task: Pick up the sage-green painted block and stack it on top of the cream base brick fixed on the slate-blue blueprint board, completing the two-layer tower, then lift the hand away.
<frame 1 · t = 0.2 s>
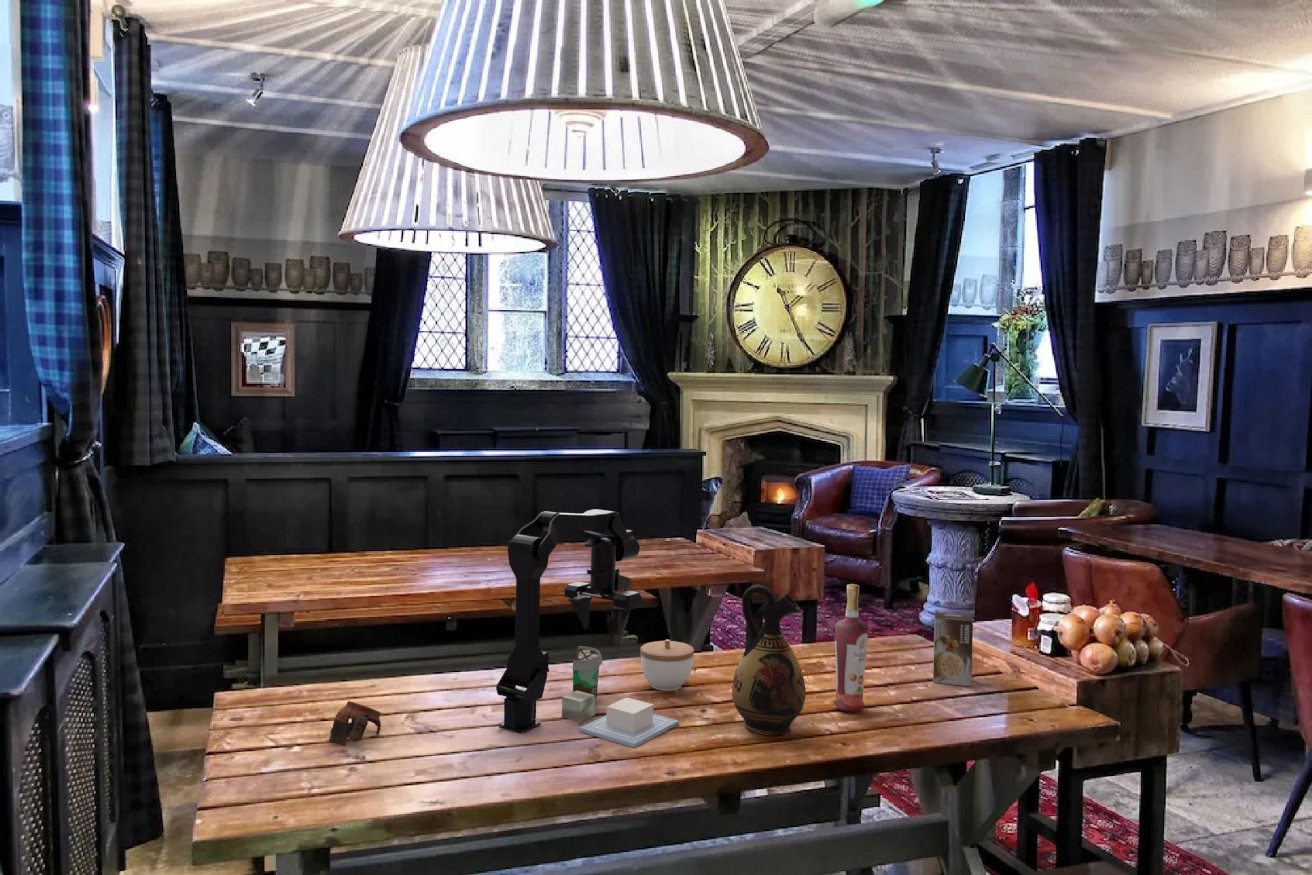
hand: (601, 631, 229), 14 cm above the table, tool pointing down, fingers open, 9 cm apart
food container: (588, 697, 227), on the table
liquor: (848, 709, 222), on the table
sage block: (578, 716, 214), on the table
blueprint board: (629, 727, 208), on the table
coffee box: (951, 681, 243), on the table
lidded bowl: (666, 686, 235), on the table
brown bent piece: (355, 739, 199), on the table
ceramic jug: (763, 727, 210), on the table
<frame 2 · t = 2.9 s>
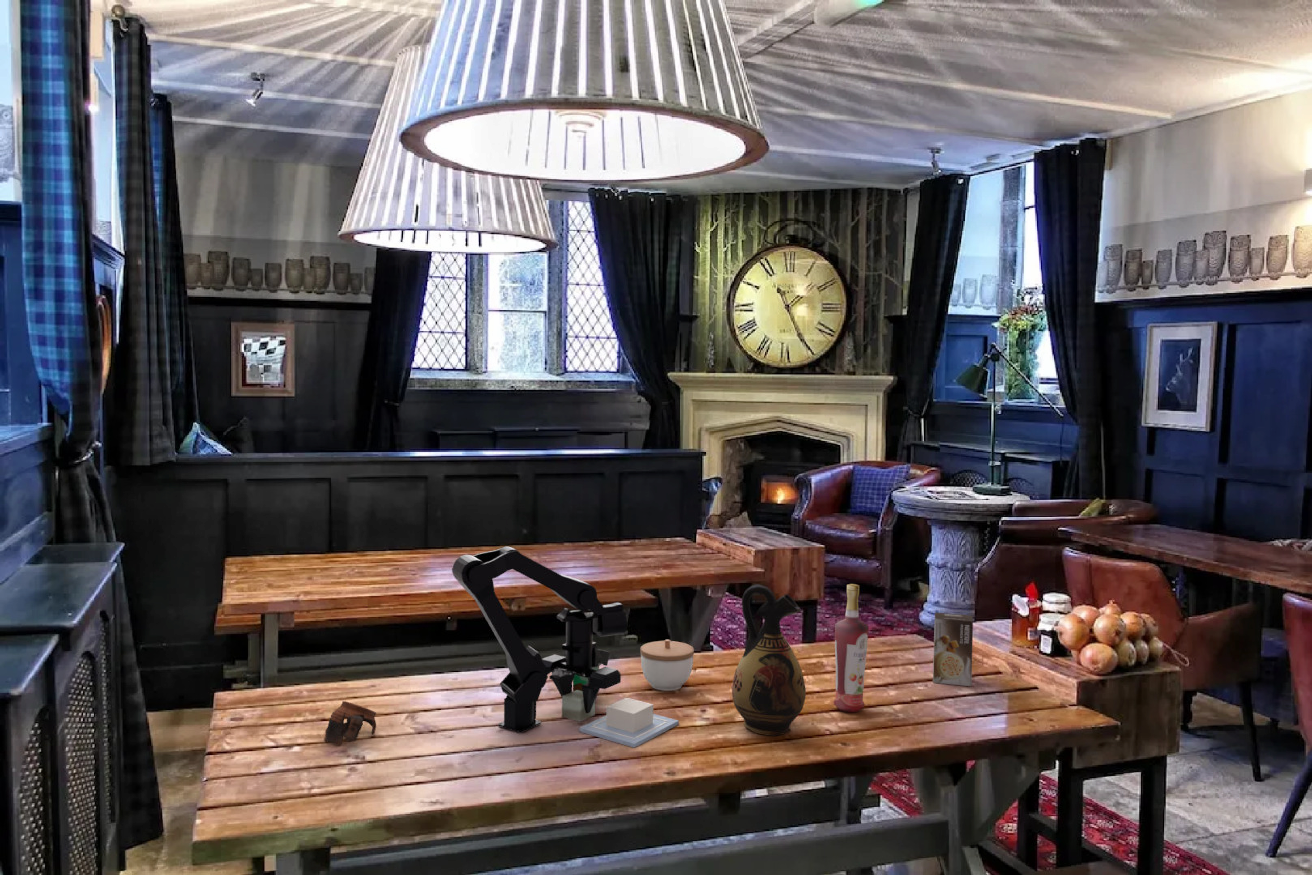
hand: (578, 710, 214), 1 cm above the table, tool pointing down, fingers closed on sage block, 5 cm apart
sage block: (578, 715, 214), on the table, touching gripper
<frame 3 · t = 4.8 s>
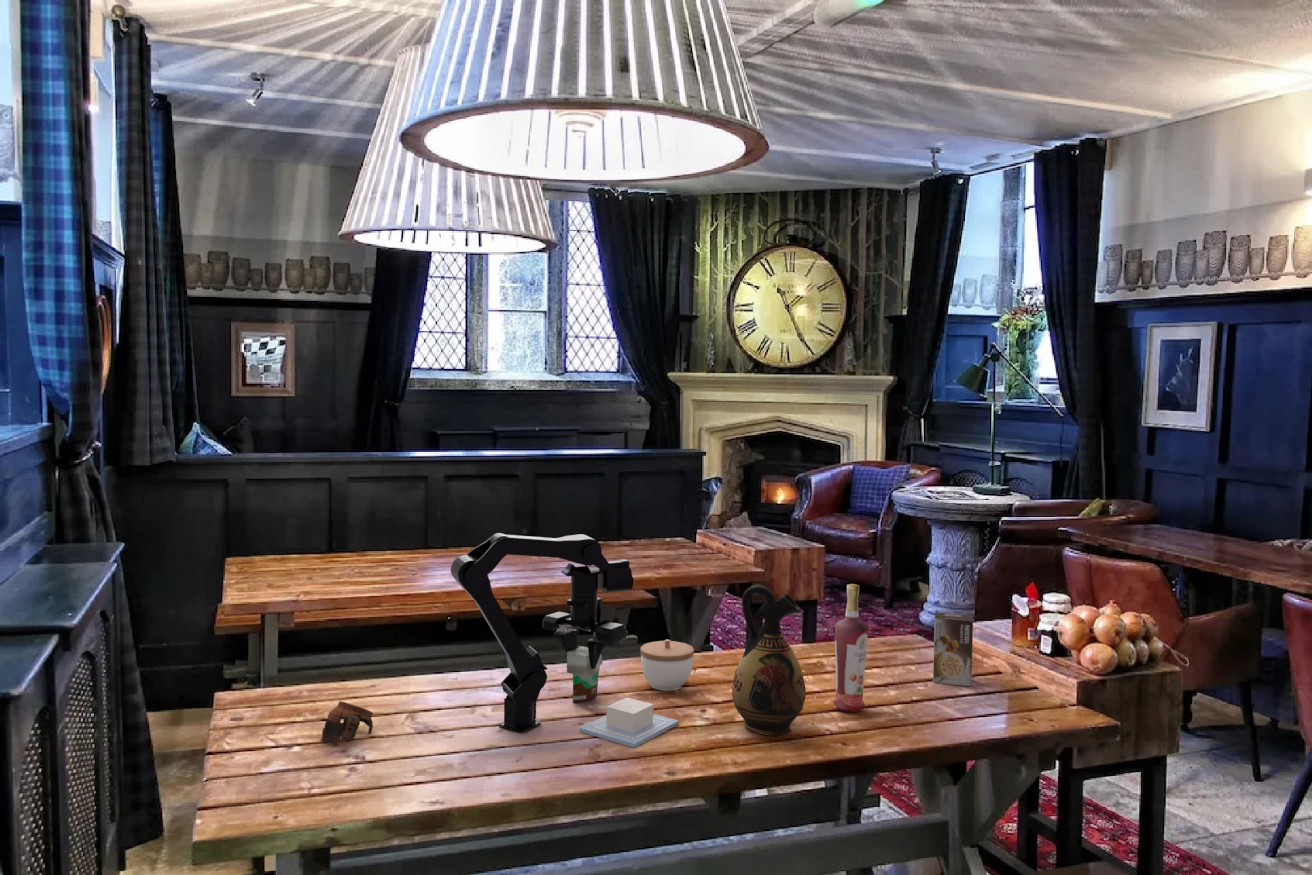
hand: (583, 666, 213), 11 cm above the table, tool pointing down, fingers closed on sage block, 5 cm apart
sage block: (583, 671, 213), point 10 cm above the table, touching gripper
when the fingers open (7 cm above the table, at t = 7.0 s): sage block stays where it is, resting on blueprint board.
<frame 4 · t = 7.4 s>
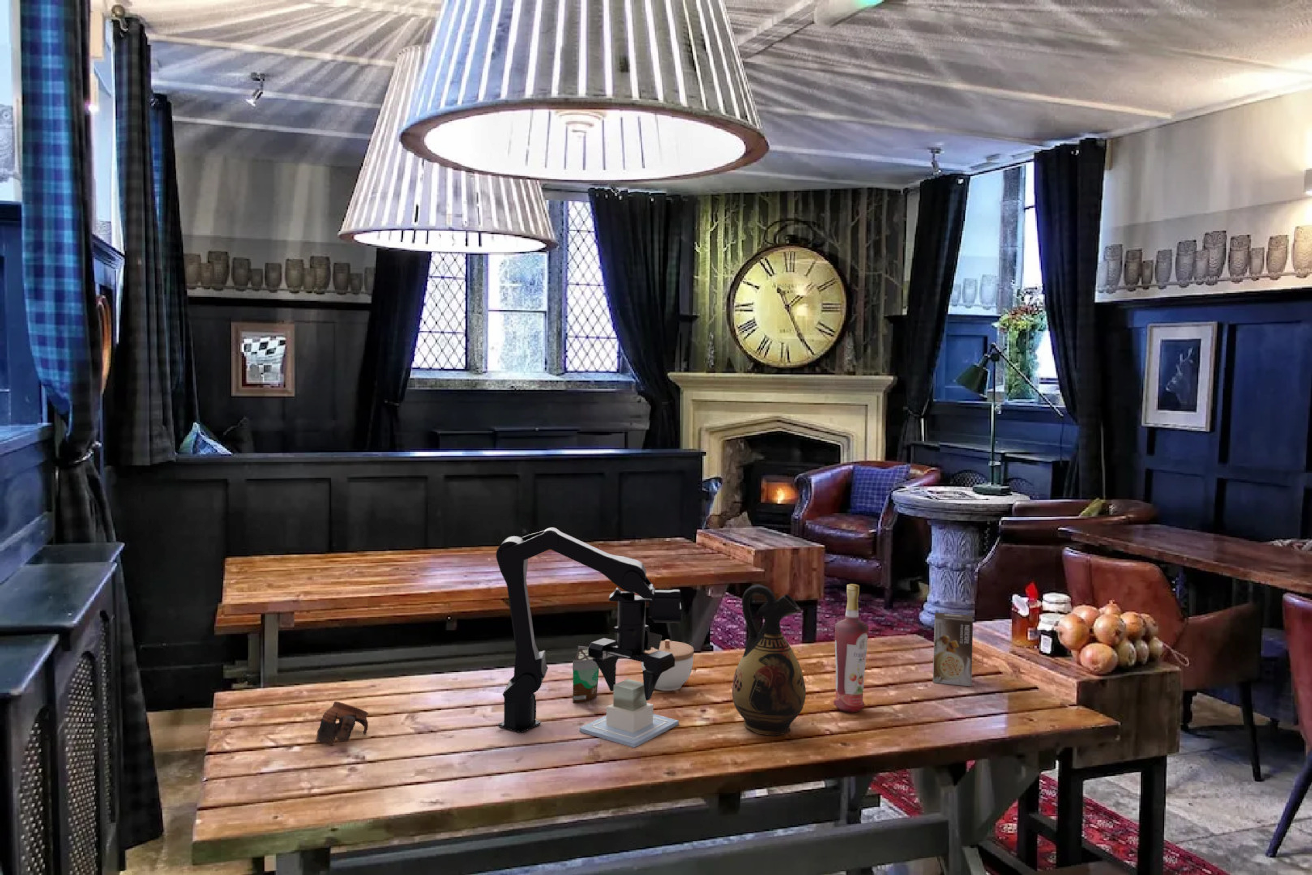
hand: (630, 695, 207), 7 cm above the table, tool pointing down, fingers open, 9 cm apart
sage block: (630, 705, 207), point 5 cm above the table, touching blueprint board
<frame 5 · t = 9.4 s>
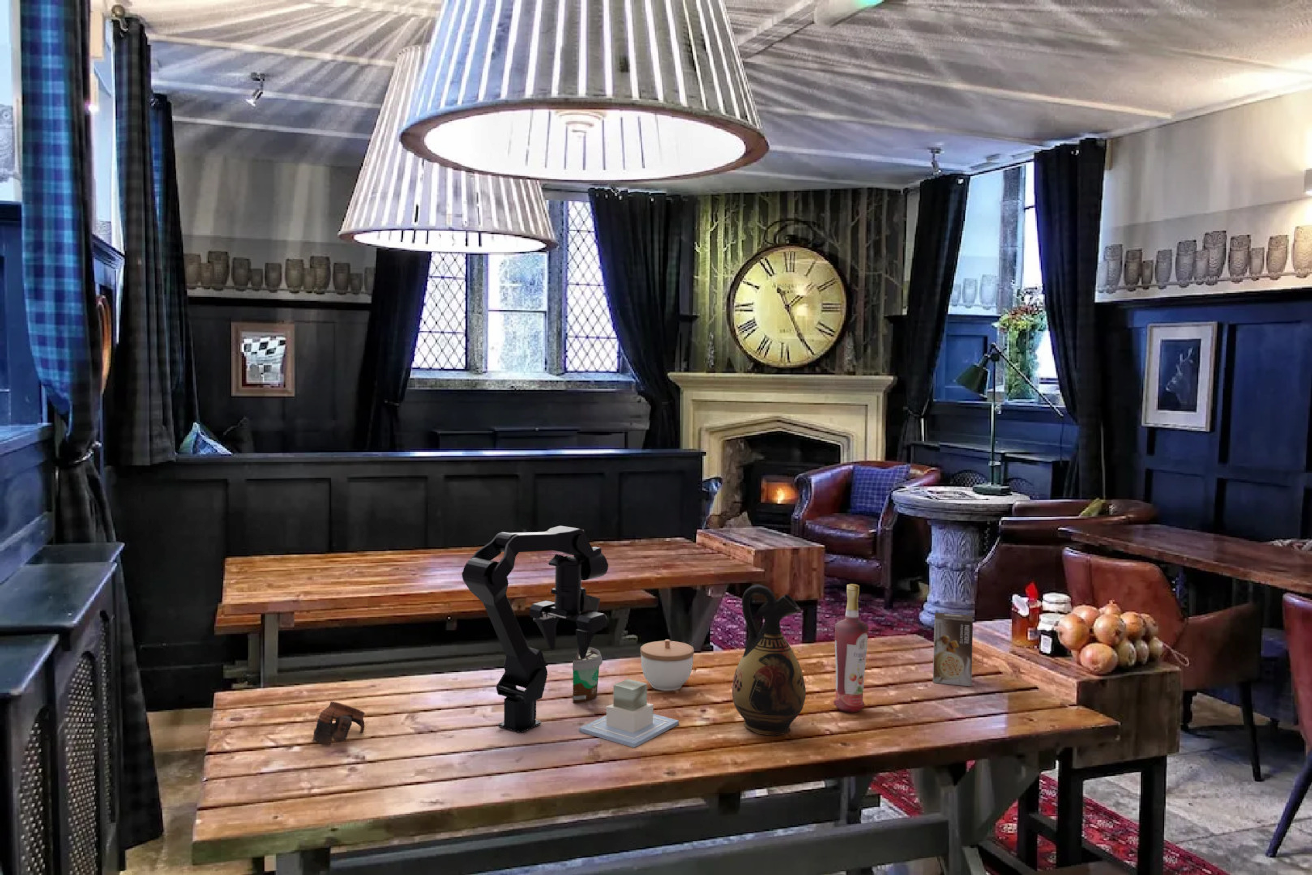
hand: (567, 653, 218), 12 cm above the table, tool pointing down, fingers open, 9 cm apart
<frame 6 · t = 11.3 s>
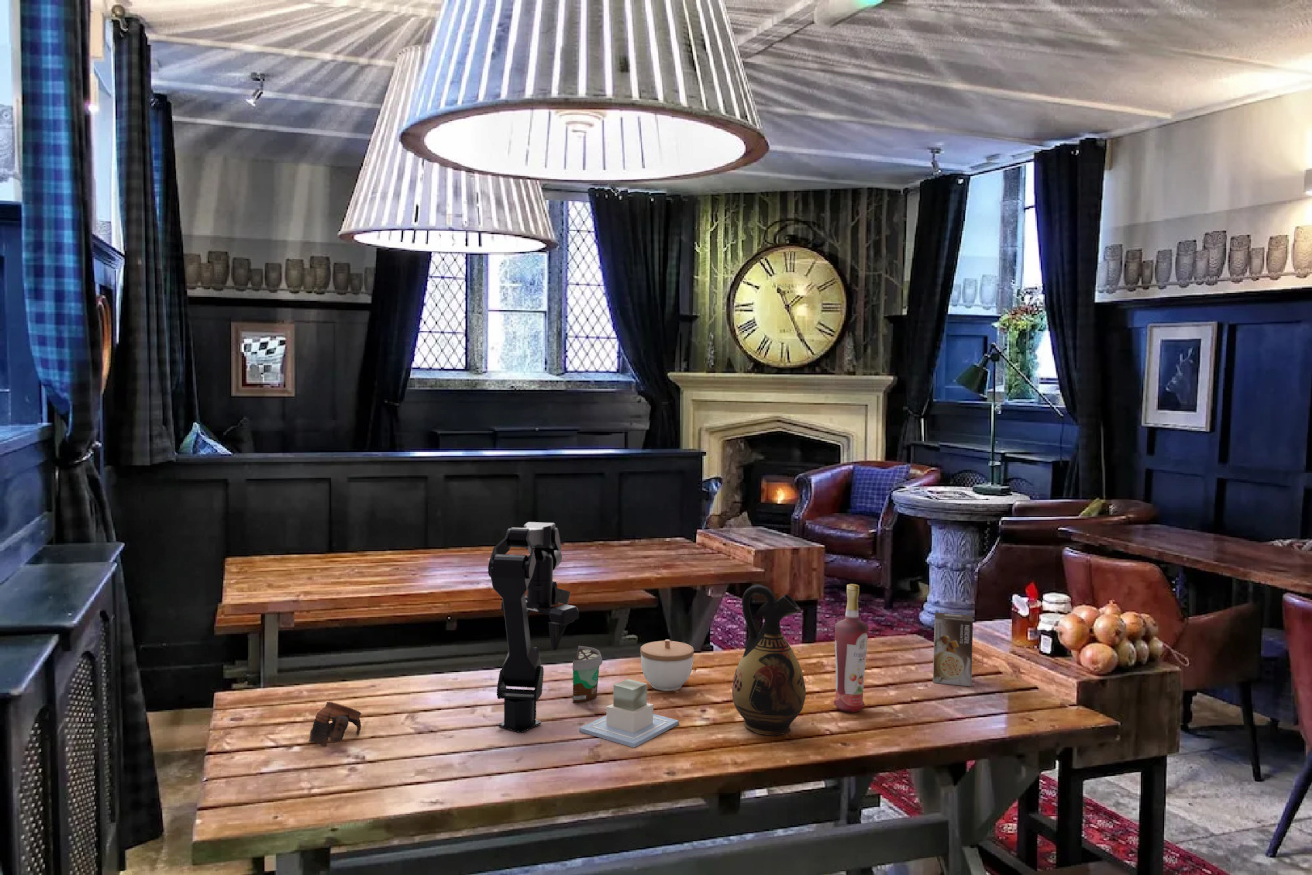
hand: (539, 646, 224), 12 cm above the table, tool pointing down, fingers open, 9 cm apart
at the end: sage block 0.1 cm off-centre on the blueprint board, point 4.8 cm above the blueprint board's base; sage block tilted 0°; the gripper is holding nothing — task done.
